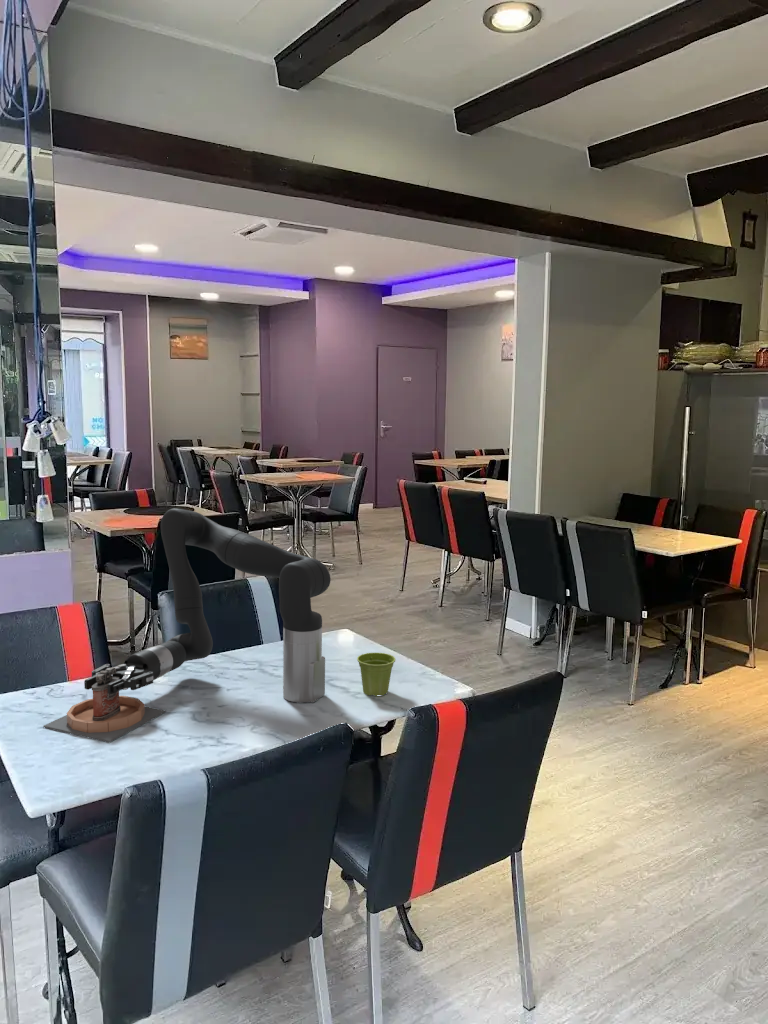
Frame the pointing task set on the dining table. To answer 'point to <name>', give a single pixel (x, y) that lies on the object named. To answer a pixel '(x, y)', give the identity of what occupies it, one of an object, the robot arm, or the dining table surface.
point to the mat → (105, 736)
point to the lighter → (105, 696)
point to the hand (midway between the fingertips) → (97, 687)
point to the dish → (126, 717)
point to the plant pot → (375, 672)
